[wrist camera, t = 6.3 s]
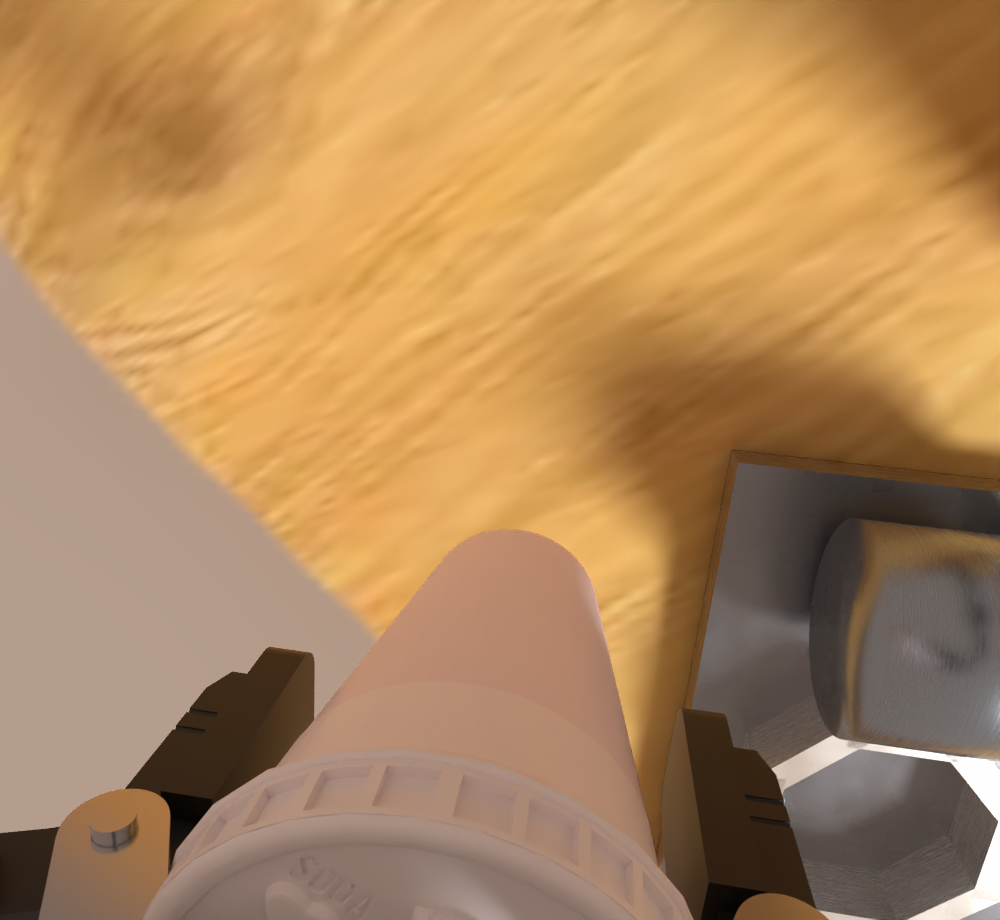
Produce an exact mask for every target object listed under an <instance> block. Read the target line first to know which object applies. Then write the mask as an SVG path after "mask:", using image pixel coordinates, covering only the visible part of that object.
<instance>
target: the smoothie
mask: <svg viewBox="0 0 1000 920" xmlns="http://www.w3.org/2000/svg"><path fill="white" fill-rule="evenodd" d="M141 919H143V920H693V917H692V915H691V913H690V911H689V908H688V906H687V904H686V902H685V899H684V897H683V895H682V894H681V893H680V892H679V891H678V890H677V888H676V887H675V886H674V885H673V884H672V882H671V881H670V880H669V879H668V878H667V877H666V875H665V874H664V873H663V872H662V871H661V870H660V868H659V865H658V861H657V856H656V851H655V846H654V842H653V837H652V832H651V828H650V825H649V821H648V818H647V814H646V811H645V806H644V802H643V798H642V793H641V789H640V785H639V780H638V776H637V772H636V768H635V763H634V759H633V755H632V750H631V746H630V742H629V737H628V733H627V729H626V724H625V720H624V716H623V712H622V707H621V703H620V699H619V694H618V690H617V686H616V681H615V677H614V673H613V668H612V664H611V660H610V655H609V651H608V647H607V643H606V638H605V634H604V630H603V625H602V621H601V617H600V612H599V608H598V604H597V599H596V595H595V591H594V588H593V585H592V583H591V580H590V578H589V576H588V574H587V572H586V571H585V569H584V568H583V566H582V565H581V564H580V563H579V561H578V560H577V559H576V558H575V557H574V556H573V555H572V554H571V553H570V552H569V551H567V550H566V549H565V548H564V547H562V546H561V545H559V544H558V543H556V542H554V541H553V540H551V539H549V538H546V537H544V536H542V535H539V534H536V533H532V532H528V531H523V530H515V529H500V530H492V531H488V532H483V533H480V534H477V535H475V536H472V537H470V538H468V539H466V540H465V541H463V542H461V543H460V544H458V545H457V546H456V547H454V548H453V549H452V550H451V551H450V552H449V553H448V554H447V555H446V556H445V557H444V559H443V560H442V561H441V562H440V564H439V565H438V566H437V567H436V569H435V570H434V571H433V572H432V574H431V575H430V576H429V577H428V579H427V580H426V581H425V582H424V584H423V585H422V586H421V587H420V589H419V590H418V591H417V592H416V594H415V595H414V596H413V597H412V599H411V600H410V601H409V602H408V604H407V605H406V606H405V607H404V609H403V610H402V611H401V612H400V613H399V615H398V616H397V617H396V618H395V620H394V621H393V622H392V623H391V625H390V626H389V627H388V628H387V630H386V631H385V632H384V633H383V635H382V636H381V637H380V638H379V640H378V641H377V642H376V643H375V645H374V646H373V647H372V648H371V650H370V651H369V652H368V653H367V655H366V656H365V657H364V658H363V660H362V661H361V662H360V663H359V665H358V666H357V667H356V668H355V670H354V671H353V672H352V673H351V675H350V676H349V677H348V678H347V680H346V681H345V682H344V683H343V685H342V686H341V687H340V688H339V690H338V691H337V692H336V693H335V694H334V696H333V697H332V698H331V700H330V701H329V702H328V703H327V705H326V706H325V707H324V708H323V710H322V711H321V712H320V713H319V715H318V716H317V717H316V718H315V719H314V721H313V722H312V723H311V724H310V726H309V727H308V728H307V729H306V730H305V731H304V732H303V733H302V735H301V736H300V737H299V738H298V739H297V740H296V742H295V743H294V744H293V746H292V747H291V748H290V749H289V751H288V752H287V753H286V755H285V756H284V757H283V759H282V760H281V761H280V762H279V764H278V765H277V766H276V767H275V768H271V769H268V770H266V771H265V772H263V773H262V774H260V775H258V776H257V777H255V778H254V779H252V780H251V781H249V782H247V783H246V784H244V785H243V786H241V787H240V788H238V789H236V790H235V791H233V792H232V793H230V794H228V795H227V796H225V797H224V798H222V799H221V800H219V801H217V802H216V803H214V804H213V805H212V806H211V808H210V809H209V810H208V811H207V813H206V814H205V815H204V816H203V818H202V819H201V820H200V821H199V823H198V824H197V825H196V826H195V828H194V829H193V830H192V831H191V833H190V834H189V835H188V836H187V838H186V839H185V840H184V841H183V842H182V844H181V845H180V846H179V847H178V849H177V850H176V853H175V856H174V859H173V862H172V865H171V868H170V873H169V875H168V876H167V878H166V879H165V881H164V882H163V884H162V886H161V887H160V889H159V890H158V892H157V893H156V895H155V896H154V898H153V899H152V901H151V902H150V904H149V906H148V907H147V909H146V910H145V912H144V914H143V916H142V918H141Z"/></svg>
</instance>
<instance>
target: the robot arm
mask: <svg viewBox="0 0 1000 920" xmlns="http://www.w3.org/2000/svg"><path fill="white" fill-rule="evenodd" d="M313 721H314V657H313V655H312V654H311V653H308V652H301V651H295V650H288V649H281V648H274V647H269V648H267V649H266V650H265V651H264V652H263V654H262V655H261V656H260V657H259V659H258V660H257V661H256V663H255V664H254V666H253V667H252V668H251V670H250V671H249V672H248V674H244V673H238V672H231V673H229V674H228V675H226V676H225V677H223V678H221V679H220V680H218V681H217V682H215V683H213V684H212V685H210V686H208V687H207V688H206V689H205V690H204V691H203V693H202V694H201V695H200V696H199V698H198V699H197V700H196V701H195V703H194V704H193V705H192V706H191V708H190V711H189V713H188V712H187V713H186V714H185V715H184V716H183V718H182V719H181V720H180V721H179V723H178V724H177V725H176V729H175V730H172V731H171V732H170V734H169V735H168V736H167V737H166V739H165V740H164V741H163V742H162V744H161V745H160V746H159V747H158V749H157V750H156V751H155V752H154V754H153V755H152V756H151V757H150V759H149V760H148V761H147V762H146V763H145V765H144V766H143V767H142V768H141V770H140V771H139V772H138V773H137V775H136V776H135V777H134V778H133V780H132V781H131V782H130V783H129V785H128V786H127V787H126V788H125V789H123V790H116V791H111V792H108V793H104V794H101V795H99V796H97V797H94V798H92V799H90V800H88V801H86V802H85V803H83V804H81V805H80V806H79V807H77V808H76V809H75V810H73V811H72V812H71V813H70V814H69V815H68V816H67V817H66V819H65V820H64V821H63V822H62V824H61V826H60V827H56V828H48V829H39V830H29V831H18V832H8V833H0V920H143V919H141V918H142V916H143V914H144V912H145V910H146V909H147V907H148V906H149V904H150V902H151V901H152V899H153V898H154V896H155V895H156V893H157V892H158V890H159V889H160V887H161V886H162V884H163V882H164V881H165V879H166V878H167V876H168V875H169V873H170V868H171V865H172V862H173V859H174V856H175V853H176V850H177V849H178V847H179V846H180V845H181V844H182V842H183V841H184V840H185V839H186V838H187V836H188V835H189V834H190V833H191V831H192V830H193V829H194V828H195V826H196V825H197V824H198V823H199V821H200V820H201V819H202V818H203V816H204V815H205V814H206V813H207V811H208V810H209V809H210V808H211V806H212V805H213V804H214V803H216V802H217V801H219V800H221V799H222V798H224V797H225V796H227V795H228V794H230V793H232V792H233V791H235V790H236V789H238V788H240V787H241V786H243V785H244V784H246V783H247V782H249V781H251V780H252V779H254V778H255V777H257V776H258V775H260V774H262V773H263V772H265V771H266V770H268V769H271V768H275V767H276V766H277V765H278V764H279V762H280V761H281V760H282V759H283V757H284V756H285V755H286V753H287V752H288V751H289V749H290V748H291V747H292V746H293V744H294V743H295V742H296V740H297V739H298V738H299V737H300V736H301V735H302V733H303V732H304V731H305V730H306V729H307V728H308V727H309V726H310V724H311V723H312V722H313ZM661 826H662V837H663V848H664V858H665V869H666V877H667V878H668V879H669V880H670V881H671V882H672V884H673V885H674V886H675V887H676V888H677V890H678V891H679V892H680V893H681V894H682V895H683V897H684V899H685V902H686V904H687V906H688V908H689V911H690V913H691V915H692V917H693V920H829V919H828V918H827V917H826V916H825V915H823V914H822V913H821V912H819V911H818V910H817V909H816V906H815V903H814V899H813V896H812V893H811V889H810V886H809V883H808V879H807V876H806V873H805V869H804V866H803V863H802V859H801V856H800V853H799V849H798V846H797V843H796V839H795V836H794V833H793V829H792V828H791V827H790V819H789V816H788V813H787V809H786V806H784V799H783V796H782V793H781V789H780V786H779V783H778V779H777V776H776V774H775V773H774V772H773V770H772V769H771V768H770V767H769V765H768V764H767V763H766V762H765V761H764V759H763V758H762V757H761V756H760V754H759V753H758V752H757V751H756V750H750V749H743V748H736V747H733V743H732V739H731V734H730V730H729V726H728V722H727V718H726V716H725V714H723V713H716V712H709V711H702V710H695V709H688V708H681V707H679V708H678V710H677V713H676V717H675V722H674V728H673V733H672V739H671V744H670V749H669V755H668V760H667V765H666V771H665V776H664V782H663V789H662V799H661Z"/></svg>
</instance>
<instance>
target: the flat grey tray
mask: <svg viewBox="0 0 1000 920" xmlns="http://www.w3.org/2000/svg"><path fill="white" fill-rule="evenodd" d="M684 708H688V709H695V710H702V711H709V712H716V713H723V714H725V716H726V718H727V722H728V726H729V730H730V734H731V739H732V743H733V747H736V748H743V749H750V750H756V751H757V752H758V753H759V754H760V756H761V757H762V758H763V759H764V761H765V762H766V763H767V764H768V765H769V767H770V768H771V769H772V770H773V772H774V773H775V774H776V776H777V779H778V783H779V786H780V789H781V793H782V796H783V799H784V806H786V809H787V813H788V816H789V819H790V827H791V828H792V829H793V833H794V836H795V839H796V843H797V846H798V849H799V853H800V856H801V859H802V863H803V866H804V869H805V873H806V876H807V879H808V883H809V886H810V889H811V893H812V896H813V899H814V903H815V906H816V909H817V910H818V911H819V912H821V913H822V914H823V915H825V916H826V917H827V918H828V919H829V920H1000V480H996V479H987V478H978V477H969V476H960V475H951V474H942V473H933V472H924V471H916V470H907V469H898V468H889V467H880V466H871V465H862V464H853V463H844V462H835V461H826V460H818V459H809V458H800V457H791V456H782V455H773V454H764V453H755V452H746V451H737V450H731V455H730V461H729V466H728V471H727V477H726V482H725V488H724V493H723V498H722V504H721V509H720V515H719V520H718V526H717V531H716V536H715V542H714V547H713V553H712V558H711V563H710V569H709V574H708V580H707V585H706V590H705V596H704V601H703V607H702V612H701V618H700V623H699V628H698V634H697V639H696V645H695V650H694V655H693V661H692V666H691V672H690V677H689V682H688V688H687V693H686V699H685V704H684ZM657 861H658V865H659V868H660V870H661V871H662V872H663V873H664V874H665V875H666V869H665V858H664V848H663V837H662V829H661V834H660V839H659V845H658V850H657Z"/></svg>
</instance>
